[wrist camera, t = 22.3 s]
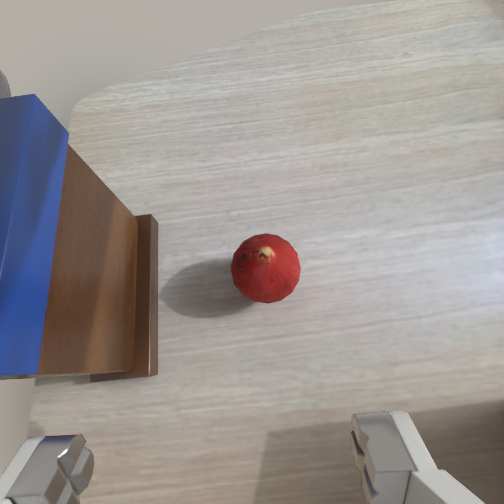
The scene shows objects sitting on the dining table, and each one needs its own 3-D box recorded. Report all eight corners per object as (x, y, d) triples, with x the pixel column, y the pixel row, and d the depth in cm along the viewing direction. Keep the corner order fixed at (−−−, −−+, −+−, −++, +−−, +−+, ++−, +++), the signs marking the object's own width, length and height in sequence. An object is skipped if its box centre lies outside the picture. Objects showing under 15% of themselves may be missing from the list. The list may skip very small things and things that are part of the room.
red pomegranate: (230, 303, 29) (216, 282, 21) (242, 247, 31) (233, 209, 23) (292, 315, 28) (299, 296, 21) (300, 256, 30) (310, 220, 23)
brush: (102, 381, 27) (-136, 403, 11) (111, 228, 32) (-43, 96, 17) (158, 374, 27) (-4, 388, 11) (158, 222, 32) (48, 84, 16)
